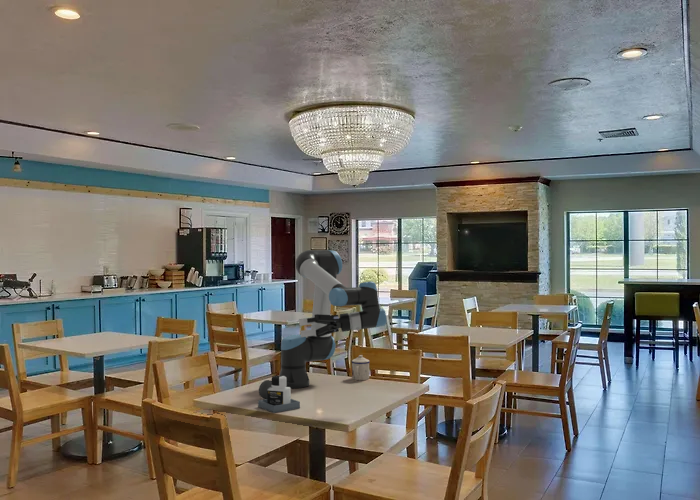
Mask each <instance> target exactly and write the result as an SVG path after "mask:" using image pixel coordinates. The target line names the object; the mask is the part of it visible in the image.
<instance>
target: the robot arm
mask: <svg viewBox="0 0 700 500" xmlns="http://www.w3.org/2000/svg"><path fill="white" fill-rule="evenodd" d="M342 260H343V259H342V257H341V256H340V254H339V253H338V252H337V251H336V250H331V249H314V250H313V249H308V250H304V251H302V252H300V254H298V255H297V258H296V260H295V270H296V271H297V273H298V274H299V275H300V276H301V277H302V278H304V279H308V280H310V281H311V282H312V283H313V284H314V287H313V288H314V290H313V302H312V303H313V304H312V314H311V317H305V318H299V319H298V322H299V323H298V325H299V326H300V327H302V326H309V325H311V327H310V329H305V330H300V334H293V335H288V336H285V337H283V338H282V339H281V342H280V343H281V344H280V372H279V375H281V376H285V377H286V378H287V386H286V387H290V388H291V389H302V388H303V389H304V388H307V387H309V386H310V379H309V374H308V372H307V368H306V367H307V366H306V365H307V364H306V363H309V362H317V361H321V362H322V361H326V360H329V359H331V358H332V357H333V356H334V354H335V352H336V342H335V338H334V337H333V336H332V334H333V333H338V332H339V331H340V329H341V332H342V333H344V332H350V331H360V330H366V329H374V328H376V329H377V328H380V327H384V326H386V325H387V323H388V322H387V313H386V310H385V308H380V307H381V306H380V305H379V293H378V289H377V284H376V282H374V281H365V282H360V283H359V284H358V286H357V287H354V286H353V287H347V286H346V285H345V284H343V283H341V282H340V281H339V280H338V279H337V275H339V274H341V272H342V270H343V261H342ZM331 306H334V307H348V306H361V311H354V312H352V311H351V312H349V313H348V312H346V313H340V314H331Z"/></svg>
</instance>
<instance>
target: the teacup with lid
mask: <svg viewBox="0 0 700 500" xmlns="http://www.w3.org/2000/svg"><path fill="white" fill-rule="evenodd" d="M351 379H353V380H355V381H366V380H367V381H368V380H369V379H370V360H369V359H367V358H365V357H363V354H359V355H358V357H356V358H354V359H351Z"/></svg>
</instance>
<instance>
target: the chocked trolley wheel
mask: <svg viewBox="0 0 700 500" xmlns="http://www.w3.org/2000/svg"><path fill="white" fill-rule="evenodd" d="M270 388H272V380H270V379H267V380H264V381H262V382H261V383H260V385H259V386H258V394H259V396H260V398H261V399H262V400H265V399H267V390H268V389H270Z"/></svg>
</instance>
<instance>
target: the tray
mask: <svg viewBox="0 0 700 500" xmlns="http://www.w3.org/2000/svg"><path fill="white" fill-rule="evenodd" d="M257 406H258V408H260V409H262V410H265V411H267V412H270V413H272V414H275V413H280V412H281V413H282V412H288V411H290V410H291V411H292V410H298V409H300V408H301V401H299V400H296V399H293V398H291V403H287V404H281V405H275V406H274V405H271V404H268V403H267V399H259V400H257Z"/></svg>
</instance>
